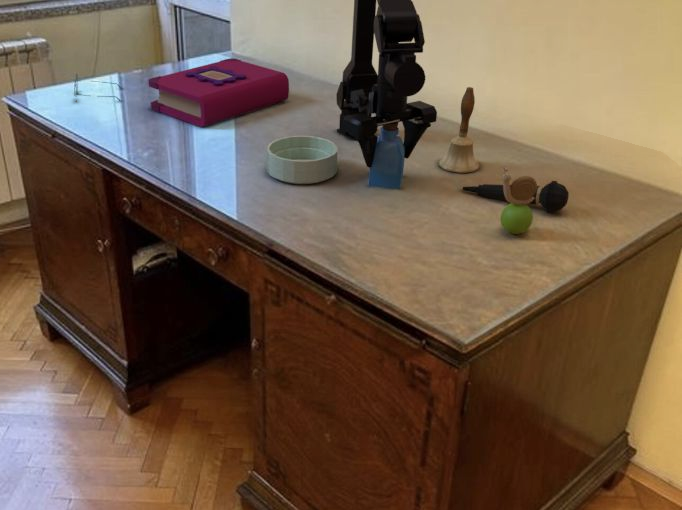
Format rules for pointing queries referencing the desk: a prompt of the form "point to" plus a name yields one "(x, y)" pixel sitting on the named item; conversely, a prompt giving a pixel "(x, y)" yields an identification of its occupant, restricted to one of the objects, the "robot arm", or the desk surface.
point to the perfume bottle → (388, 159)
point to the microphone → (548, 196)
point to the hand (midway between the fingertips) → (387, 162)
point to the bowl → (302, 159)
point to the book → (218, 91)
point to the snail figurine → (518, 203)
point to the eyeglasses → (93, 81)
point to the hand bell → (462, 141)
